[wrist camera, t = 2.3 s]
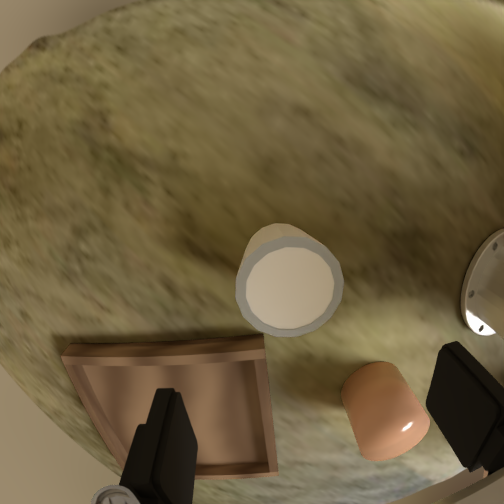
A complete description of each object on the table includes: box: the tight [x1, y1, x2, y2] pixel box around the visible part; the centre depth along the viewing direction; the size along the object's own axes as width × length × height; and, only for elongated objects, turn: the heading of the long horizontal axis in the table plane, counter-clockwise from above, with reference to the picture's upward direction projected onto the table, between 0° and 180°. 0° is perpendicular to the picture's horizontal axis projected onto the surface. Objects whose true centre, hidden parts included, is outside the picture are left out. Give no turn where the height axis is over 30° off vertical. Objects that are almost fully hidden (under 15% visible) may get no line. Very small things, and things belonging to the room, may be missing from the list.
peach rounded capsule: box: [341, 362, 430, 461], centre depth 27 cm, size 7×7×8 cm
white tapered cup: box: [235, 223, 344, 337], centre depth 23 cm, size 7×7×7 cm
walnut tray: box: [60, 334, 279, 479], centre depth 30 cm, size 20×20×2 cm
